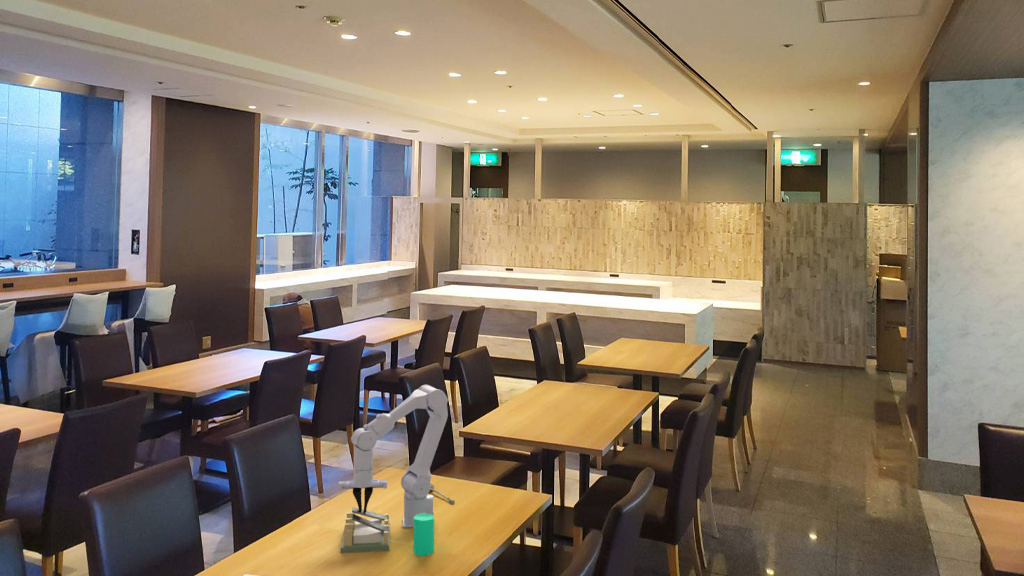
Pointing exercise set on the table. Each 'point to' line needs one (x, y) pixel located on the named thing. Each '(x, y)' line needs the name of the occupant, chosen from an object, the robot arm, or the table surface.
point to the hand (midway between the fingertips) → (362, 511)
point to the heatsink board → (367, 545)
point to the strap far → (369, 514)
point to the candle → (423, 534)
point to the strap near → (369, 523)
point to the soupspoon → (441, 494)
